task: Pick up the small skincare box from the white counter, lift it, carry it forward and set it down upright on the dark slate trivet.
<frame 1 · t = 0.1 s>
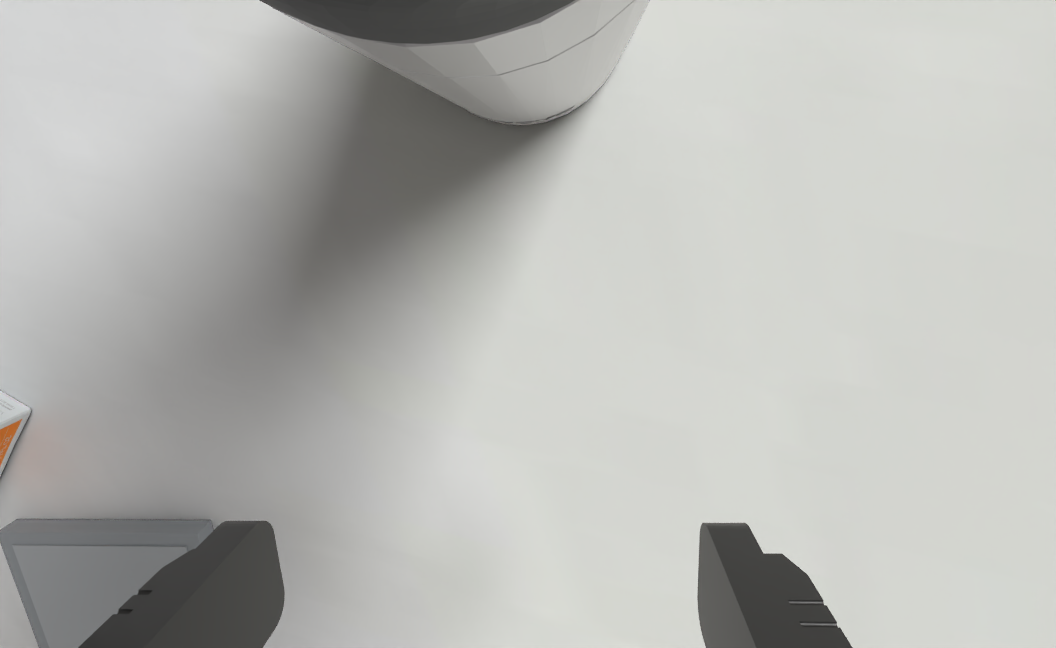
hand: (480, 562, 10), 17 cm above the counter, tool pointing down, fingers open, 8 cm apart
slate trivet: (137, 603, 33), on the counter
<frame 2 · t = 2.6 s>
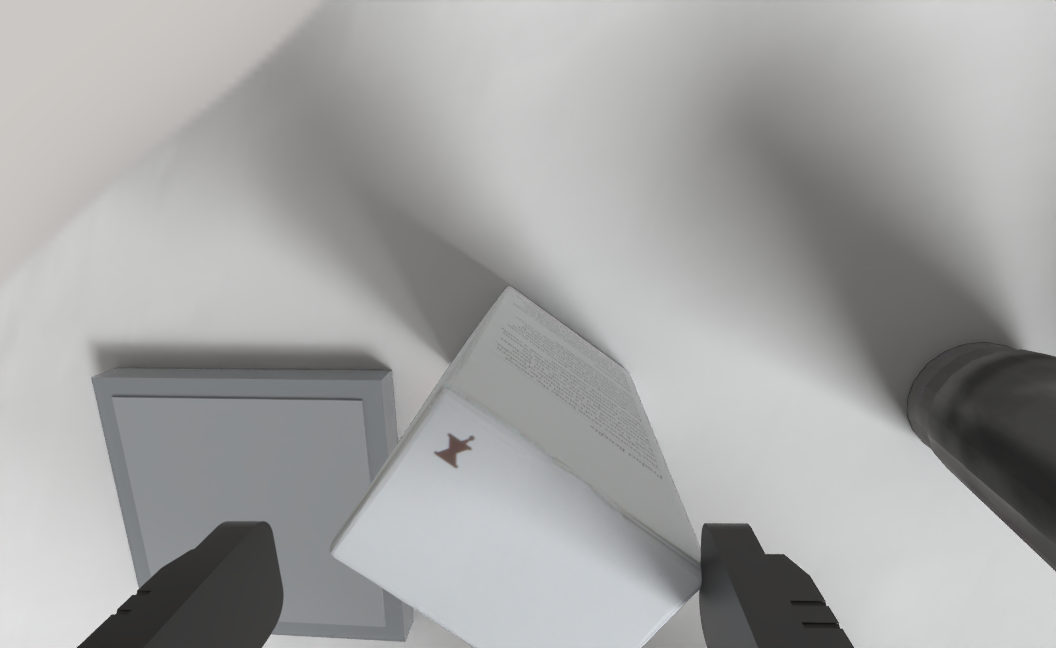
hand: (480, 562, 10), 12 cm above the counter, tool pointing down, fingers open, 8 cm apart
slate trivet: (269, 498, 24), on the counter
skincare box: (540, 369, 22), on the counter, touching gripper
beverage cup: (968, 398, 20), on the counter
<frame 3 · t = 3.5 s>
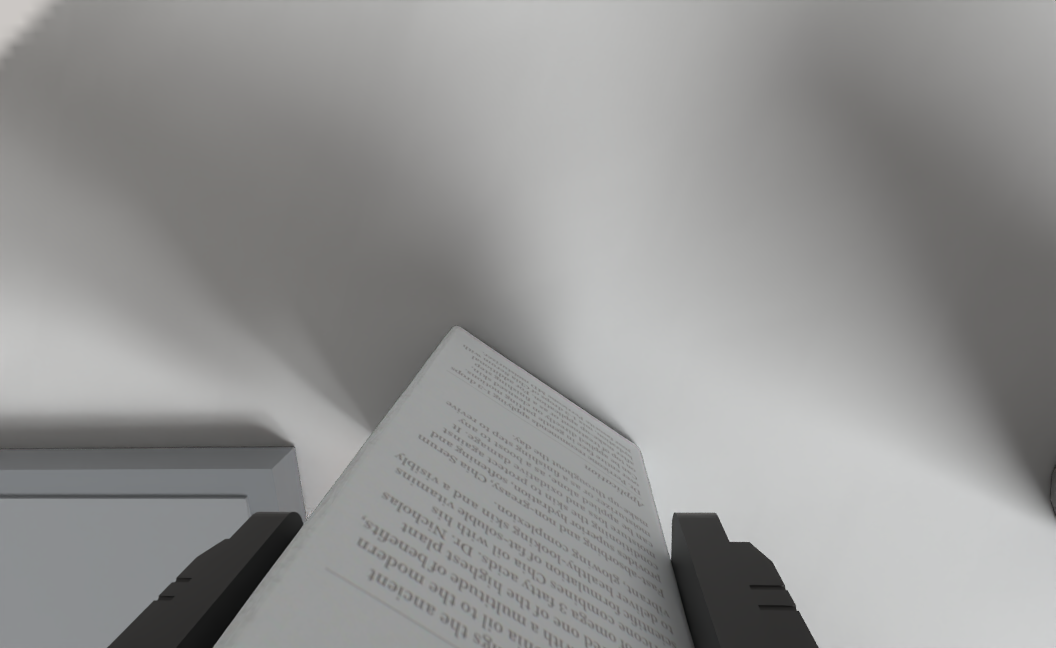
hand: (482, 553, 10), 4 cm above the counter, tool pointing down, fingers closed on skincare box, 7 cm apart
slate trivet: (138, 623, 17), on the counter
skincare box: (509, 441, 15), on the counter, touching gripper
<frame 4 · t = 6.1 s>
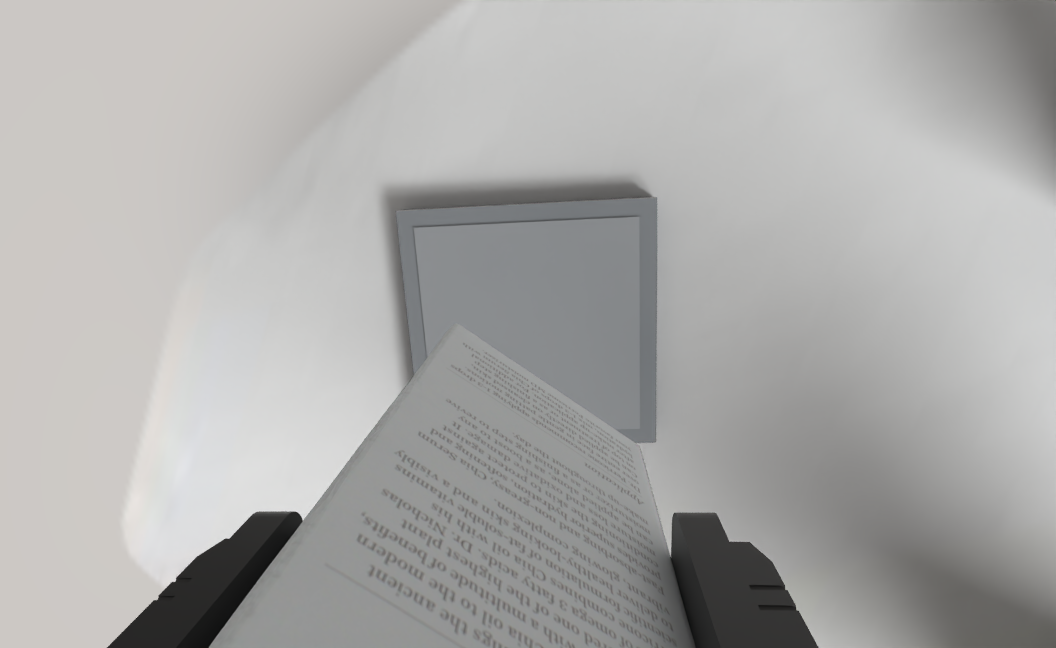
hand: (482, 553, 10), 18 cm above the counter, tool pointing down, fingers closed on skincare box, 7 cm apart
slate trivet: (532, 324, 28), on the counter
skincare box: (509, 440, 15), point 13 cm above the counter, touching gripper
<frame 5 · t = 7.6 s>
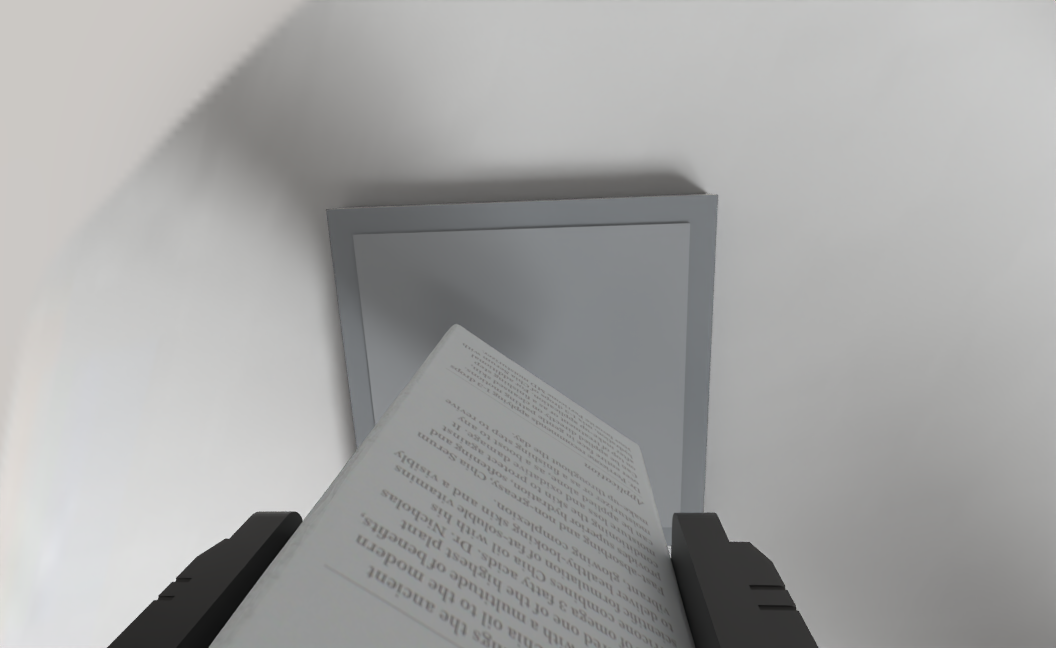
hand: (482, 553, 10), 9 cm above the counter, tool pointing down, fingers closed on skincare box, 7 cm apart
slate trivet: (527, 374, 19), on the counter
skincare box: (509, 440, 15), point 5 cm above the counter, touching gripper
when the fingers open (6 cm above the counter, at t = 8.8 s): skincare box stays where it is, resting on slate trivet.
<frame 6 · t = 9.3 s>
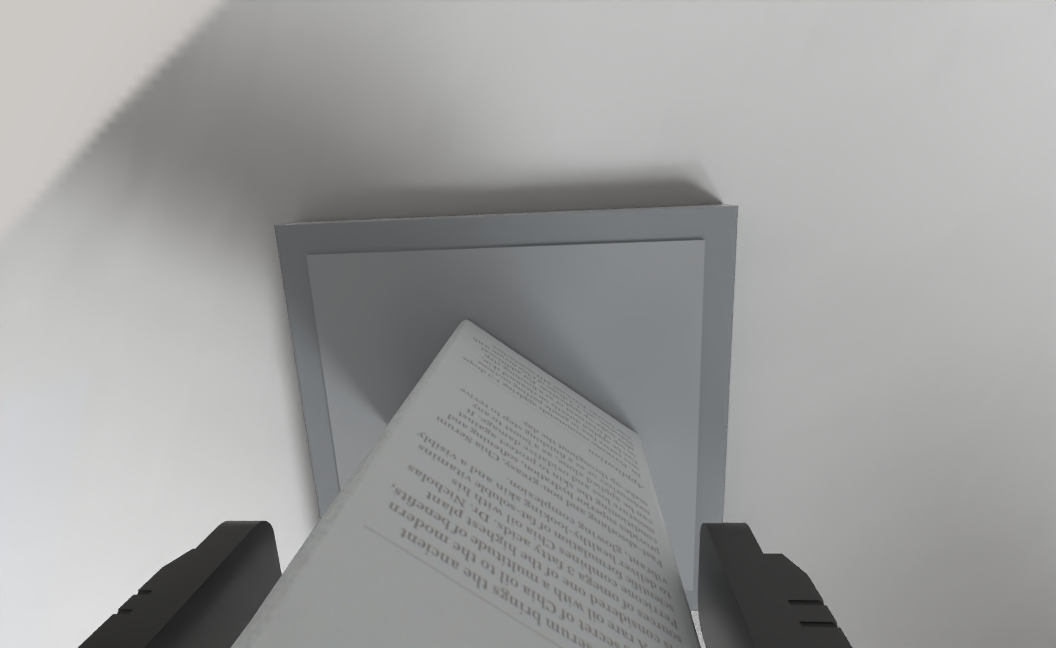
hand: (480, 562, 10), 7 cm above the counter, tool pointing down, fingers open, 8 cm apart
slate trivet: (514, 413, 17), on the counter
skincare box: (516, 430, 16), point 1 cm above the counter, touching slate trivet
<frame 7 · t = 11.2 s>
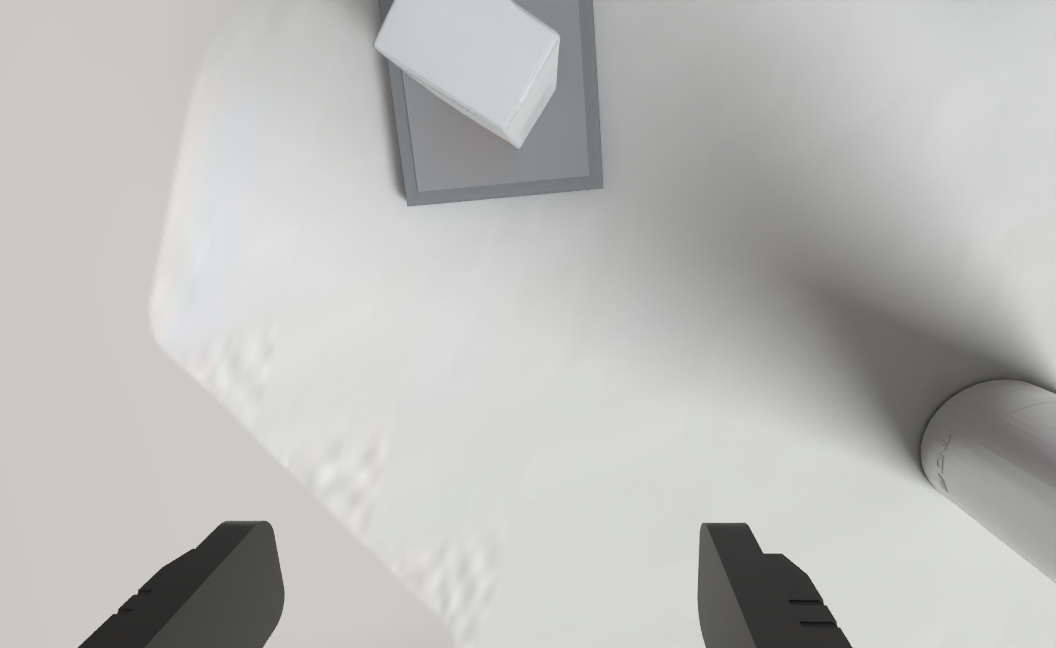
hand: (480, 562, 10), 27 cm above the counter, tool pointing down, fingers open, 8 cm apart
slate trivet: (496, 95, 33), on the counter
skincare box: (496, 93, 32), point 1 cm above the counter, touching slate trivet
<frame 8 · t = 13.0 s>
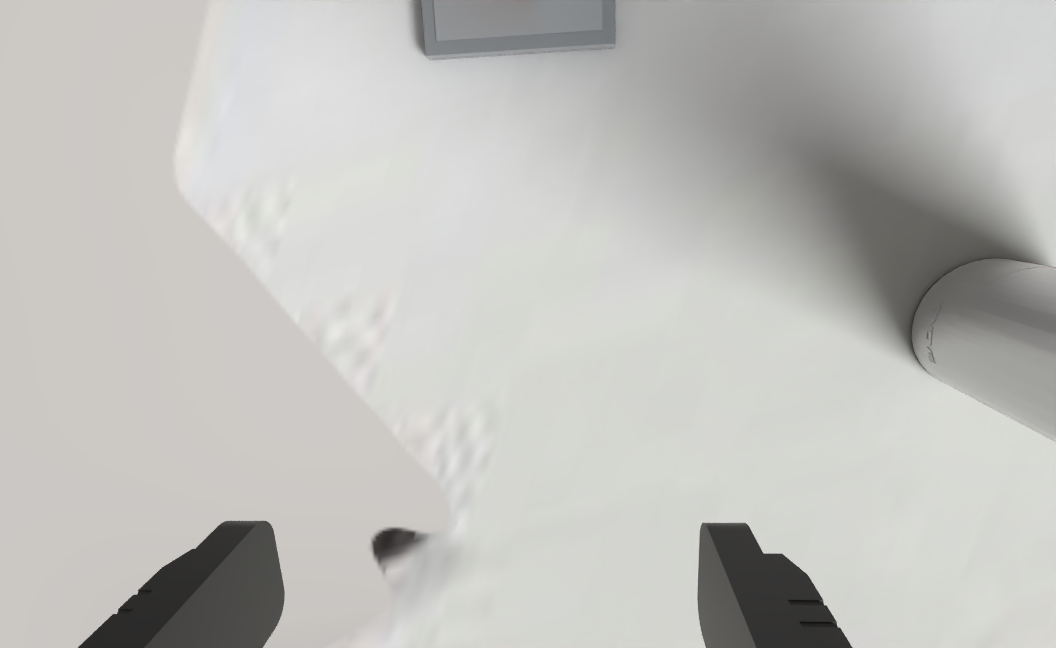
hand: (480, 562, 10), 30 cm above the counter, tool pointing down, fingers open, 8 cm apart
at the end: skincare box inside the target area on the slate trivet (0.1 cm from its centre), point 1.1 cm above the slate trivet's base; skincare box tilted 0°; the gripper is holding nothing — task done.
